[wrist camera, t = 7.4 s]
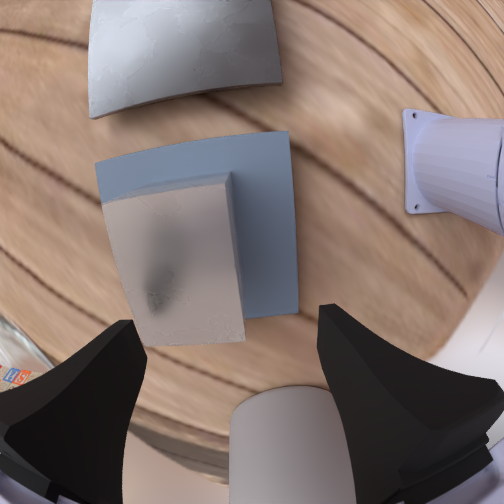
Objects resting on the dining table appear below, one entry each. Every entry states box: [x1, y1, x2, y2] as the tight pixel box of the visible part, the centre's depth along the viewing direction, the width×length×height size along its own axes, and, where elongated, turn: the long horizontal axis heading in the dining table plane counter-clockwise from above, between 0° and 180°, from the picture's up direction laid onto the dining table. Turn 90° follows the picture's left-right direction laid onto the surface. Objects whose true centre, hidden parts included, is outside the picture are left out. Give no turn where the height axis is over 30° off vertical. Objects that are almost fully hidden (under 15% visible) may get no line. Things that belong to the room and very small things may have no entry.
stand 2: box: [95, 131, 299, 319], centre depth 17 cm, size 12×12×2 cm
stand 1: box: [88, 0, 283, 120], centre depth 12 cm, size 12×12×2 cm
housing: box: [102, 171, 246, 346], centre depth 14 cm, size 5×7×6 cm
